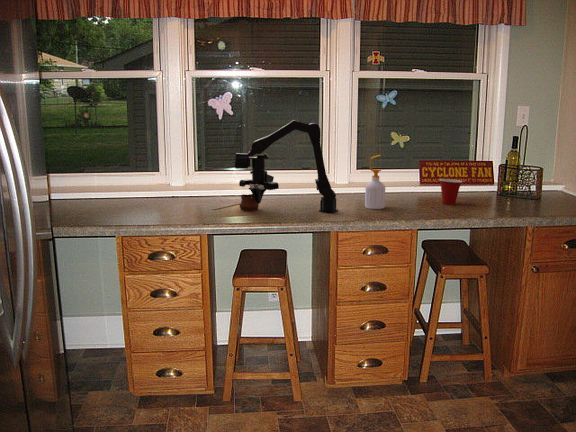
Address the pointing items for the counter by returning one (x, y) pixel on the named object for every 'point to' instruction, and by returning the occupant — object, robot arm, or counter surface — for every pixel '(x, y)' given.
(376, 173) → the soap bottle
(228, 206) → the strip
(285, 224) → the counter surface
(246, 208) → the ceramic pot
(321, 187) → the robot arm
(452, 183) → the plastic cup
